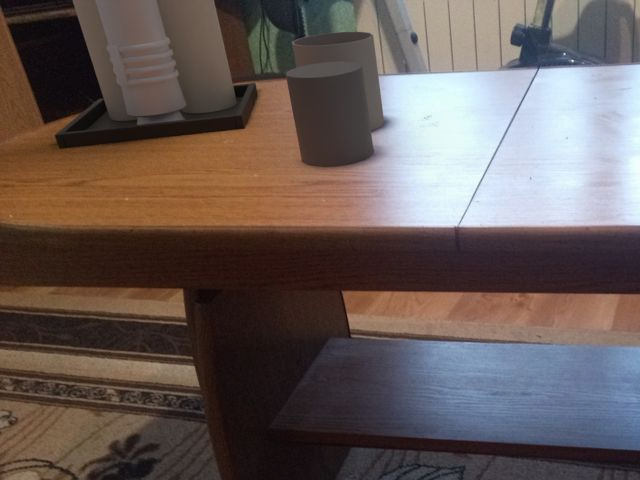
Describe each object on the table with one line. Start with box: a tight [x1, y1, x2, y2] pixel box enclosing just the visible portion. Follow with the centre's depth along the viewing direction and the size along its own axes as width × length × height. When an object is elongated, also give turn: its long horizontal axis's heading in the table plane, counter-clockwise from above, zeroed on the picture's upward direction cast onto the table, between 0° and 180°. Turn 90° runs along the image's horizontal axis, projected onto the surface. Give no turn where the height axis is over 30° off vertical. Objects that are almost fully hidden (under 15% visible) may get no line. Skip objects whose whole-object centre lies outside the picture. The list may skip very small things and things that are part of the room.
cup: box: [291, 31, 385, 132], centre depth 79 cm, size 8×8×10 cm
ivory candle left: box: [72, 0, 138, 121], centre depth 91 cm, size 7×7×15 cm
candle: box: [95, 0, 186, 125], centre depth 84 cm, size 7×7×15 cm
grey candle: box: [285, 62, 375, 168], centre depth 70 cm, size 7×7×9 cm
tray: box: [54, 82, 259, 149], centre depth 91 cm, size 21×19×2 cm
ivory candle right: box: [156, 0, 237, 113], centre depth 92 cm, size 7×7×15 cm
